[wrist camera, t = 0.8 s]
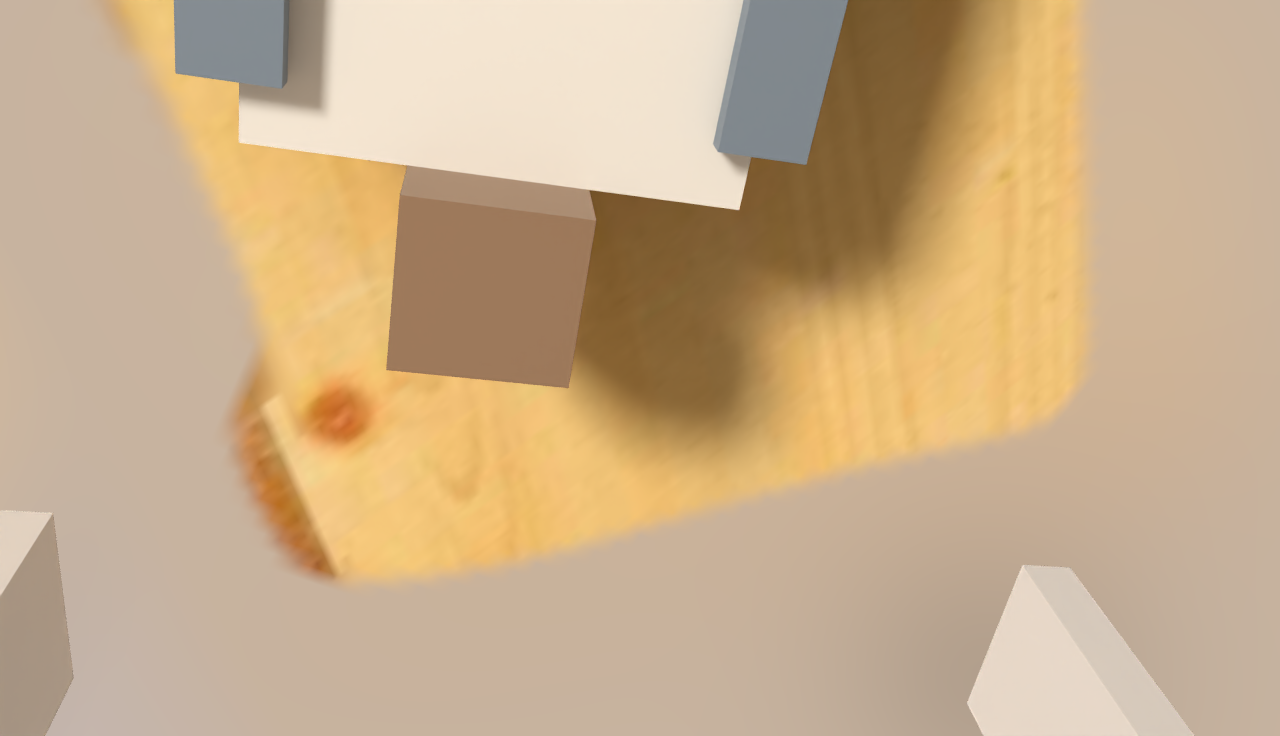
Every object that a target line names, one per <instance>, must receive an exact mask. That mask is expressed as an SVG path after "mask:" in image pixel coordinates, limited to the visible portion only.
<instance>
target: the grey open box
mask: <svg viewBox="0 0 1280 736" xmlns="http://www.w3.org/2000/svg"><path fill="white" fill-rule="evenodd" d="M847 3H848V0H743V5H742V10H741V14H740V19H739V24H738V29H737V33H736V38H735V43H734V47H733V52H732V57H731V62H730V66H729V71H728V76H727V80H726V85H725V90H724V95H723V99H722V104H721V109H720V113H719V118H718V123H717V128H716V132H715V137H714V142H713V145H714V147H715V148H716V150H717V151H718V152H721V153H728V154H735V155H742V156H748V157H755V158H762V159H769V160H776V161H783V162H790V163H797V164H804V165H806V164H807V160H808V156H809V152H810V148H811V144H812V140H813V136H814V132H815V128H816V125H817V121H818V117H819V113H820V109H821V105H822V101H823V97H824V93H825V89H826V85H827V81H828V78H829V74H830V70H831V66H832V62H833V58H834V54H835V50H836V46H837V42H838V38H839V34H840V30H841V27H842V23H843V19H844V15H845V11H846V7H847ZM174 25H175V70H176V73H177V74H183V75H190V76H197V77H204V78H211V79H218V80H225V81H232V82H239V83H245V84H252V85H259V86H266V87H273V88H280V89H282V88H283V87H284V86H285V84H286V83H287V79H288V39H289V0H174Z"/></svg>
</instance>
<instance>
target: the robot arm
mask: <svg viewBox="0 0 1280 736" xmlns="http://www.w3.org/2000/svg"><path fill="white" fill-rule="evenodd" d="M72 680H73V670H72V661H71V653H70V645H69V637H68V629H67V621H66V614H65V605H64V597H63V589H62V581H61V573H60V565H59V557H58V549H57V542H56V533H55V525H54V517H53V513H42V512H24V511H23V512H22V511H5V510H0V736H45V735H46V733H47V731H48V729H49V727H50V725H51V723H52V721H53V719H54V717H55V715H56V713H57V711H58V709H59V707H60V705H61V703H62V700H63V698H64V696H65V694H66V692H67V690H68V688H69V686H70V684H71V682H72ZM967 705H968V707H969V709H970V711H971V712H972V714H973V716H974V718H975V720H976V722H977V724H978V726H979V728H980V730H981V732H982V734H983V736H1195V735H1194V734H1193V733H1192V731H1191V730H1190V729H1189V727H1188V726H1187V725H1186V723H1185V722H1184V721H1183V720H1182V718H1181V717H1180V715H1179V714H1178V713H1177V711H1176V710H1175V709H1174V707H1173V706H1172V704H1171V703H1170V702H1169V700H1168V699H1167V698H1166V696H1165V695H1164V694H1163V692H1162V691H1161V689H1160V688H1159V687H1158V685H1157V684H1156V683H1155V682H1154V680H1153V679H1152V677H1151V676H1150V675H1149V673H1148V672H1147V671H1146V669H1145V668H1144V667H1143V665H1142V664H1141V663H1140V661H1139V660H1138V658H1137V657H1136V656H1135V654H1134V653H1133V652H1132V650H1131V649H1130V648H1129V646H1128V645H1127V644H1126V642H1125V641H1124V640H1123V638H1122V637H1121V635H1120V634H1119V633H1118V632H1117V630H1116V629H1115V627H1114V626H1113V625H1112V623H1111V622H1110V621H1109V619H1108V618H1107V617H1106V615H1105V614H1104V613H1103V611H1102V610H1101V608H1100V607H1099V606H1098V605H1097V603H1096V602H1095V600H1094V599H1093V598H1092V596H1091V595H1090V594H1089V592H1088V591H1087V590H1086V588H1085V587H1084V586H1083V585H1082V583H1081V582H1080V580H1079V579H1078V578H1077V576H1076V575H1075V573H1074V572H1073V571H1072V570H1071V568H1067V567H1048V566H1028V565H1022V568H1021V570H1020V572H1019V575H1018V577H1017V580H1016V582H1015V585H1014V587H1013V590H1012V593H1011V595H1010V597H1009V600H1008V602H1007V605H1006V607H1005V610H1004V612H1003V615H1002V617H1001V620H1000V622H999V625H998V627H997V630H996V632H995V635H994V637H993V640H992V642H991V645H990V647H989V650H988V652H987V655H986V657H985V660H984V662H983V665H982V667H981V670H980V672H979V674H978V677H977V680H976V682H975V685H974V687H973V690H972V692H971V694H970V697H969V700H968V702H967Z"/></svg>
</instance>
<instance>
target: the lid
mask: <svg viewBox="0 0 1280 736" xmlns="http://www.w3.org/2000/svg"><path fill="white" fill-rule="evenodd" d="M742 5H743V0H289V39H288V79H287V83H286V84H285V86H284V87H283V88H282V89H280V88H273V87H266V86H259V85H252V84H245V83H239V143H246V144H254V145H261V146H268V147H276V148H283V149H291V150H298V151H305V152H313V153H320V154H328V155H335V156H342V157H350V158H357V159H365V160H372V161H379V162H387V163H394V164H402V165H408V166H407V170H406V174H405V178H404V181H403V185H402V189H401V193H400V200H399V213H398V226H397V239H396V252H395V265H394V278H393V291H392V304H391V317H390V330H389V343H388V356H387V369H386V370H392V371H402V372H412V373H422V374H432V375H442V376H452V377H462V378H472V379H482V380H492V381H503V382H513V383H523V384H533V385H543V386H553V387H563V388H569V382H570V376H571V370H572V364H573V358H574V352H575V346H576V340H577V334H578V328H579V322H580V316H581V310H582V304H583V298H584V292H585V286H586V280H587V274H588V268H589V262H590V256H591V250H592V244H593V238H594V232H595V226H596V217H595V212H594V208H593V204H592V199H591V195H590V191H589V190H594V191H601V192H609V193H616V194H624V195H631V196H638V197H646V198H653V199H661V200H668V201H675V202H683V203H690V204H698V205H705V206H713V207H720V208H727V209H735V210H739V208H740V204H741V200H742V195H743V191H744V187H745V182H746V178H747V174H748V169H749V165H750V161H751V157H748V156H742V155H735V154H728V153H721V152H718V151H717V150H716V148H715V147H714V145H713V142H714V137H715V132H716V128H717V123H718V118H719V113H720V109H721V104H722V99H723V95H724V90H725V85H726V80H727V76H728V71H729V66H730V62H731V57H732V52H733V47H734V43H735V38H736V33H737V29H738V24H739V19H740V14H741V10H742Z"/></svg>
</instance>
